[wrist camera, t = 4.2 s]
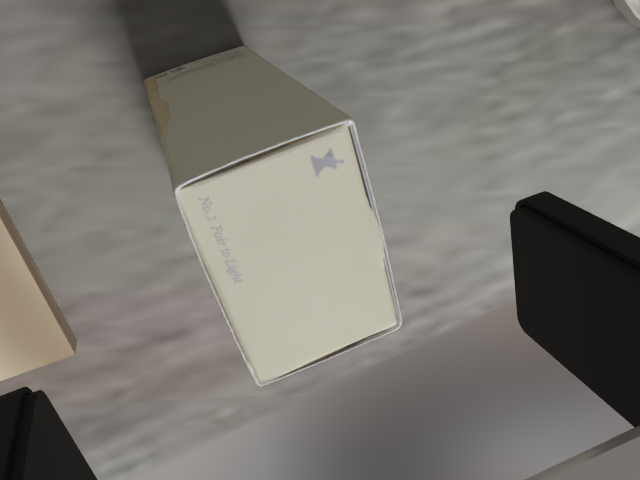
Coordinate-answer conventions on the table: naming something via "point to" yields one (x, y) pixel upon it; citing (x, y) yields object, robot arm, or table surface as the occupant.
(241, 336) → the skincare box
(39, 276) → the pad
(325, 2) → the table surface
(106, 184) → the table surface
